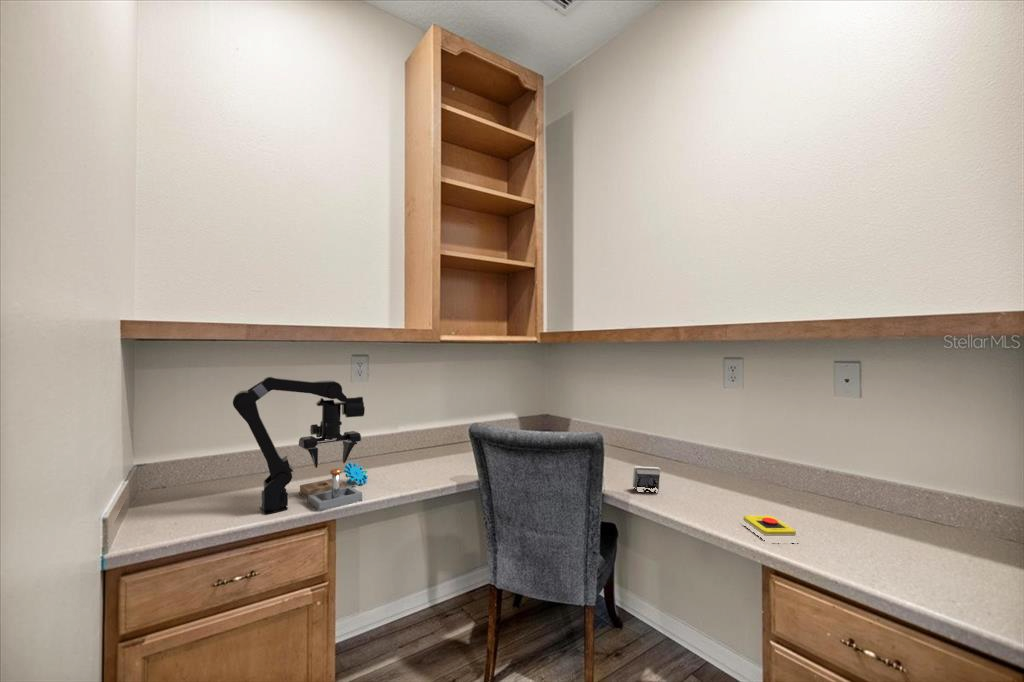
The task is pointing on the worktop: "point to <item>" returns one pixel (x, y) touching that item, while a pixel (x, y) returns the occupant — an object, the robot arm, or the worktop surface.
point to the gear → (356, 474)
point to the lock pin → (335, 482)
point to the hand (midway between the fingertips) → (330, 465)
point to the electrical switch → (646, 477)
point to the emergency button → (769, 526)
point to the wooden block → (317, 487)
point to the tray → (325, 501)
